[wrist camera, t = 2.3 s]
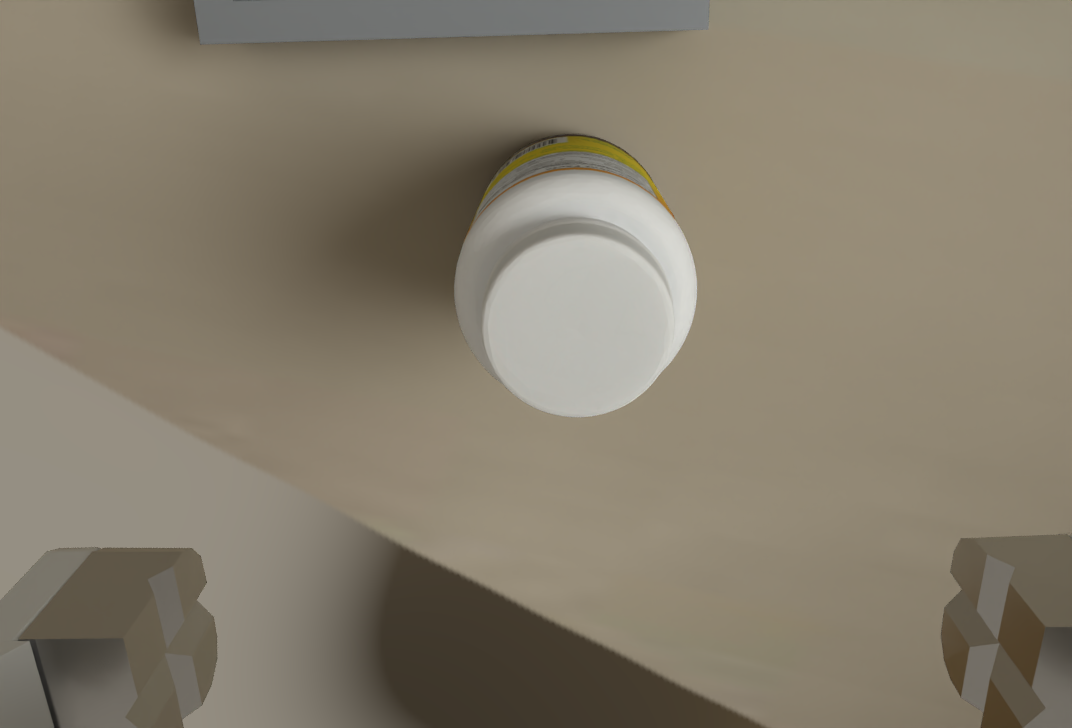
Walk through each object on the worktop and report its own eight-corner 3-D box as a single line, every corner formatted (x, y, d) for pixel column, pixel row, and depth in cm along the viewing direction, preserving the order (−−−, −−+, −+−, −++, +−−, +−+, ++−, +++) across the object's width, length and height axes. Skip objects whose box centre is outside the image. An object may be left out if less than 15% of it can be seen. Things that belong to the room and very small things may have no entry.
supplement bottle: (621, 332, 29) (651, 489, 19) (457, 274, 28) (404, 405, 19) (691, 167, 27) (763, 251, 17) (516, 101, 26) (491, 150, 17)
